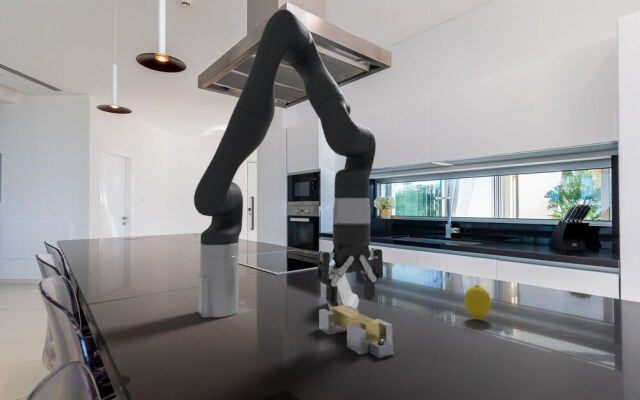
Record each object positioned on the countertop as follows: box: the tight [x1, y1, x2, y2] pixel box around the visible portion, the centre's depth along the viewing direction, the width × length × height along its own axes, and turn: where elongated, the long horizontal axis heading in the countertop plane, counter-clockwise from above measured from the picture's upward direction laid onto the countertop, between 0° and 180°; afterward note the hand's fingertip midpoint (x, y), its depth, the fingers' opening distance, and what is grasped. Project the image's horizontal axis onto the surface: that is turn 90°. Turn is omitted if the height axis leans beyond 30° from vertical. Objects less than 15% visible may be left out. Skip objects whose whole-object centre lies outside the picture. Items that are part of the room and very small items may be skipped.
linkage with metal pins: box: [318, 305, 394, 359], centre depth 67 cm, size 7×21×4 cm, turn 28°
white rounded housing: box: [323, 274, 360, 311], centre depth 88 cm, size 17×5×10 cm, turn 168°
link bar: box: [329, 305, 379, 341], centre depth 67 cm, size 3×13×3 cm, turn 28°
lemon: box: [463, 284, 492, 321], centre depth 78 cm, size 6×6×8 cm
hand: (350, 302), depth 67 cm, fingers open, 8 cm apart
